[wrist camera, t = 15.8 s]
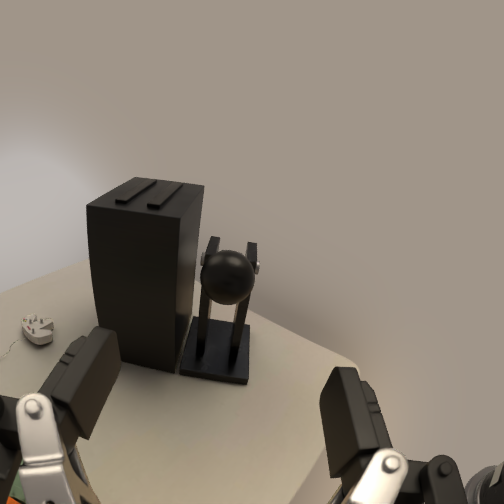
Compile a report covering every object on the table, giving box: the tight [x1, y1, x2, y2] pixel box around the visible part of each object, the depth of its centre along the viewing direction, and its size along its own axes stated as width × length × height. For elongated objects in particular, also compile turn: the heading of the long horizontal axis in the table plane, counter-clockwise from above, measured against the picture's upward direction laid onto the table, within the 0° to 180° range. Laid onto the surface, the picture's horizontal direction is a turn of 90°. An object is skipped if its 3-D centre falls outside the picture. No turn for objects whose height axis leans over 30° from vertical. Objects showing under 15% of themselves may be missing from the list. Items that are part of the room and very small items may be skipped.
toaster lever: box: [200, 250, 255, 305], centre depth 24 cm, size 14×4×4 cm, turn 0°
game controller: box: [2, 314, 54, 357], centre depth 26 cm, size 6×12×3 cm, turn 174°
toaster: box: [86, 177, 204, 373], centre depth 32 cm, size 12×9×19 cm
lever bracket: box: [179, 236, 260, 385], centre depth 32 cm, size 10×8×15 cm
